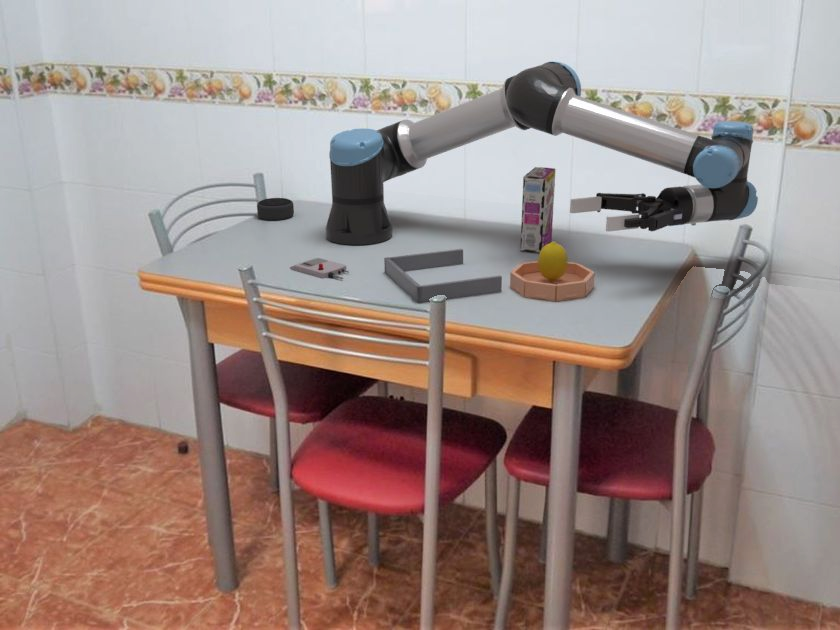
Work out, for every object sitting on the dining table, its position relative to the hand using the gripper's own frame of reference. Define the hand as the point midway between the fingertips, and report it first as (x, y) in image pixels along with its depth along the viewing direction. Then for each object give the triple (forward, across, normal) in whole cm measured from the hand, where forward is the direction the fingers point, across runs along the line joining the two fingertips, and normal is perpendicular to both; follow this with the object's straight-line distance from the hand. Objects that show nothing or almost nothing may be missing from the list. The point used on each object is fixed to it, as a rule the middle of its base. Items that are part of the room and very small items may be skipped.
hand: (588, 214), depth 176 cm
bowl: (+8, -1, -13) cm, 15 cm away
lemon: (+8, -1, -12) cm, 15 cm away
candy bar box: (-2, +25, -14) cm, 29 cm away
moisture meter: (+46, +26, -15) cm, 54 cm away
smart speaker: (+46, +72, -15) cm, 86 cm away
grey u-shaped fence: (+26, +10, -14) cm, 31 cm away
